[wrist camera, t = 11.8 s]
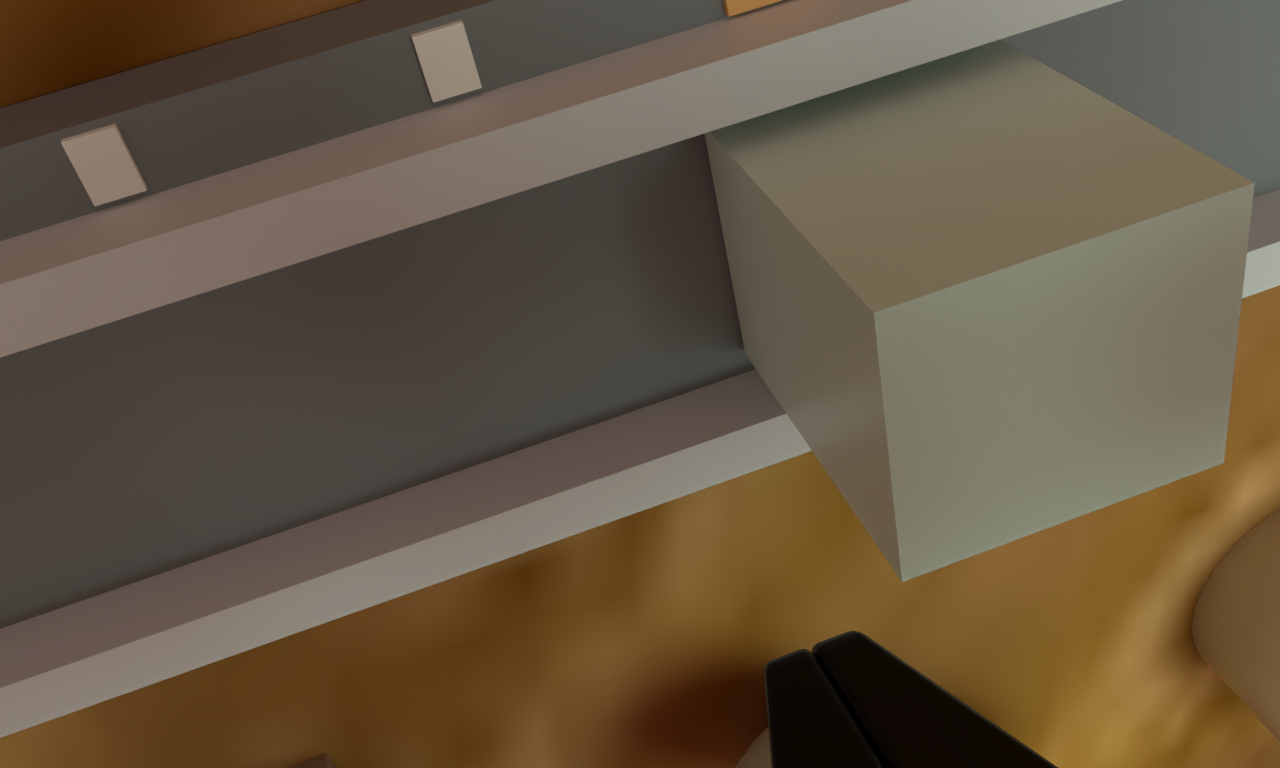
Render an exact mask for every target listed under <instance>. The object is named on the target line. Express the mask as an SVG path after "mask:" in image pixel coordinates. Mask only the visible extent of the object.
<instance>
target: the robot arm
mask: <svg viewBox="0 0 1280 768" xmlns="http://www.w3.org/2000/svg"><path fill="white" fill-rule="evenodd" d="M764 681H765V694H766V706H767V718H768V730H769V742H770V754H771V767H772V768H1058V767H1056V766H1055V765H1053V764H1052V763H1051V762H1049V761H1048V760H1046V759H1045V758H1043V757H1042V756H1040V755H1039V754H1037V753H1036V752H1035V751H1033V750H1032V749H1030V748H1029V747H1027V746H1026V745H1024V744H1023V743H1021V742H1020V741H1019V740H1017V739H1016V738H1014V737H1013V736H1011V735H1010V734H1008V733H1007V732H1005V731H1004V730H1003V729H1001V728H1000V727H998V726H997V725H995V724H994V723H992V722H991V721H989V720H988V719H987V718H985V717H984V716H982V715H981V714H979V713H978V712H976V711H975V710H973V709H972V708H971V707H969V706H968V705H966V704H965V703H963V702H962V701H960V700H959V699H957V698H956V697H955V696H953V695H952V694H950V693H949V692H947V691H946V690H944V689H943V688H941V687H940V686H939V685H937V684H936V683H934V682H933V681H931V680H930V679H928V678H927V677H925V676H924V675H923V674H921V673H920V672H918V671H917V670H915V669H914V668H912V667H911V666H909V665H908V664H907V663H905V662H904V661H902V660H901V659H899V658H898V657H896V656H895V655H893V654H892V653H891V652H889V651H888V650H886V649H885V648H883V647H882V646H880V645H879V644H877V643H876V642H875V641H873V640H872V639H870V638H869V637H867V636H866V635H864V634H862V633H860V632H856V631H850V632H846V633H843V634H841V635H838V636H835V637H833V638H830V639H827V640H825V641H822V642H819V643H817V644H816V645H814V647H813V648H812V653H811V652H810V651H809V650H806V649H801V650H798V651H795V652H792V653H790V654H787V655H784V656H782V657H779V658H776V659H774V660H771V661H769V662H767V664H766V665H765V667H764Z"/></svg>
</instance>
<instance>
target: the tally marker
mask: <svg viewBox="0 0 1280 768" xmlns="http://www.w3.org/2000/svg"><path fill="white" fill-rule="evenodd" d="M704 134H705V139H706V145H707V150H708V155H709V161H710V166H711V172H712V177H713V182H714V188H715V193H716V199H717V204H718V209H719V215H720V220H721V226H722V231H723V236H724V242H725V247H726V253H727V258H728V263H729V269H730V274H731V280H732V285H733V290H734V296H735V301H736V307H737V312H738V317H739V323H740V328H741V333H742V339H743V344H744V350H745V354H746V356H747V357H748V358H749V360H750V361H751V363H752V364H753V366H754V367H755V369H756V370H757V372H758V373H759V374H760V376H761V377H762V379H763V380H764V382H765V383H766V385H767V386H768V388H769V389H770V390H771V392H772V393H773V395H774V396H775V398H776V399H777V401H778V402H779V404H780V405H781V406H782V408H783V409H784V411H785V412H786V414H787V415H788V417H789V418H790V420H791V421H792V423H793V424H794V425H795V427H796V428H797V430H798V431H799V433H800V434H801V436H802V437H803V439H804V440H805V441H806V443H807V444H808V446H809V447H810V449H811V450H812V452H813V453H814V455H815V456H816V457H817V459H818V460H819V462H820V463H821V465H822V466H823V468H824V469H825V471H826V472H827V474H828V475H829V476H830V478H831V479H832V481H833V482H834V484H835V485H836V487H837V488H838V490H839V491H840V492H841V494H842V495H843V497H844V498H845V500H846V501H847V503H848V504H849V506H850V507H851V508H852V510H853V511H854V513H855V514H856V516H857V517H858V519H859V520H860V522H861V523H862V524H863V526H864V527H865V529H866V530H867V532H868V533H869V535H870V536H871V538H872V539H873V541H874V542H875V543H876V545H877V546H878V548H879V549H880V551H881V552H882V554H883V555H884V557H885V558H886V559H887V561H888V562H889V564H890V565H891V567H892V568H893V570H894V571H895V573H896V574H897V575H898V577H899V578H900V580H901V581H902V582H904V581H907V580H909V579H912V578H915V577H917V576H920V575H923V574H925V573H928V572H931V571H934V570H936V569H939V568H942V567H944V566H947V565H950V564H952V563H955V562H958V561H961V560H963V559H966V558H969V557H971V556H974V555H977V554H979V553H982V552H985V551H987V550H990V549H993V548H996V547H998V546H1001V545H1004V544H1006V543H1009V542H1012V541H1014V540H1017V539H1020V538H1023V537H1025V536H1028V535H1031V534H1033V533H1036V532H1039V531H1041V530H1044V529H1047V528H1050V527H1052V526H1055V525H1058V524H1060V523H1063V522H1066V521H1068V520H1071V519H1074V518H1077V517H1079V516H1082V515H1085V514H1087V513H1090V512H1093V511H1095V510H1098V509H1101V508H1104V507H1106V506H1109V505H1112V504H1114V503H1117V502H1120V501H1122V500H1125V499H1128V498H1131V497H1133V496H1136V495H1139V494H1141V493H1144V492H1147V491H1149V490H1152V489H1155V488H1158V487H1160V486H1163V485H1166V484H1168V483H1171V482H1174V481H1176V480H1179V479H1182V478H1185V477H1187V476H1190V475H1193V474H1195V473H1198V472H1201V471H1203V470H1206V469H1209V468H1212V467H1214V466H1217V465H1220V464H1222V463H1224V456H1225V447H1226V438H1227V429H1228V420H1229V411H1230V402H1231V393H1232V384H1233V375H1234V366H1235V357H1236V348H1237V339H1238V329H1239V320H1240V311H1241V302H1242V293H1243V284H1244V275H1245V266H1246V257H1247V248H1248V239H1249V230H1250V221H1251V212H1252V203H1253V194H1254V185H1255V183H1254V182H1253V181H1251V180H1249V179H1247V178H1245V177H1244V176H1242V175H1240V174H1238V173H1237V172H1235V171H1233V170H1231V169H1229V168H1228V167H1226V166H1224V165H1222V164H1221V163H1219V162H1217V161H1215V160H1214V159H1212V158H1210V157H1208V156H1206V155H1205V154H1203V153H1201V152H1199V151H1198V150H1196V149H1194V148H1192V147H1190V146H1189V145H1187V144H1185V143H1183V142H1182V141H1180V140H1178V139H1176V138H1174V137H1173V136H1171V135H1169V134H1167V133H1166V132H1164V131H1162V130H1160V129H1159V128H1157V127H1155V126H1153V125H1151V124H1150V123H1148V122H1146V121H1144V120H1143V119H1141V118H1139V117H1137V116H1135V115H1134V114H1132V113H1130V112H1128V111H1127V110H1125V109H1123V108H1121V107H1119V106H1118V105H1116V104H1114V103H1112V102H1111V101H1109V100H1107V99H1105V98H1104V97H1102V96H1100V95H1098V94H1096V93H1095V92H1093V91H1091V90H1089V89H1088V88H1086V87H1084V86H1082V85H1080V84H1079V83H1077V82H1075V81H1073V80H1072V79H1070V78H1068V77H1066V76H1064V75H1063V74H1061V73H1059V72H1057V71H1056V70H1054V69H1052V68H1050V67H1049V66H1047V65H1045V64H1043V63H1041V62H1040V61H1038V60H1036V59H1034V58H1033V57H1031V56H1029V55H1027V54H1025V53H1024V52H1022V51H1020V50H1018V49H1017V48H1015V47H1013V46H1011V45H1009V44H1008V43H1006V42H1004V41H1002V40H1001V39H999V40H996V41H993V42H990V43H987V44H984V45H981V46H977V47H974V48H971V49H968V50H965V51H962V52H959V53H955V54H952V55H949V56H946V57H943V58H940V59H937V60H933V61H930V62H927V63H924V64H921V65H918V66H915V67H911V68H908V69H905V70H902V71H899V72H896V73H893V74H890V75H886V76H883V77H880V78H877V79H874V80H871V81H868V82H864V83H861V84H858V85H855V86H852V87H849V88H846V89H842V90H839V91H836V92H833V93H830V94H827V95H824V96H820V97H817V98H814V99H811V100H808V101H805V102H802V103H798V104H795V105H792V106H789V107H786V108H783V109H780V110H776V111H773V112H770V113H767V114H764V115H761V116H758V117H754V118H751V119H748V120H745V121H742V122H739V123H736V124H732V125H729V126H726V127H723V128H720V129H717V130H714V131H710V132H707V133H704Z"/></svg>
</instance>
